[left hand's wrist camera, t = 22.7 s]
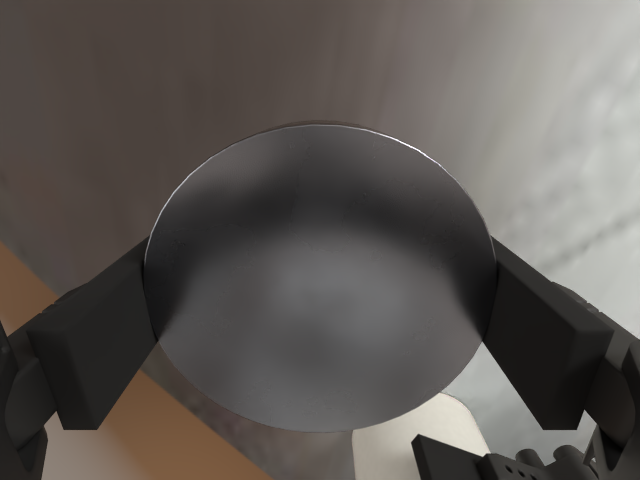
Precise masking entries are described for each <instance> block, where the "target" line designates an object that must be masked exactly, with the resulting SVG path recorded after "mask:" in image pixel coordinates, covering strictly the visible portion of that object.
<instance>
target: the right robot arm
mask: <svg viewBox="0 0 640 480" xmlns="http://www.w3.org/2000/svg"><path fill="white" fill-rule="evenodd" d="M411 445H412V449H413V453H414V456H415V460H416V464H417V468H418V471H419V475H420V479H421V480H599V476H598V471H597V465H596V463H595V462H594V461H592V460H591V462H590V464H589V466H586V465H583V464H582V463H583V457H584V454H583V453H582V452H580V451H579V450H578V449H576V448H575V447H573V446H571V445H564V446H560V447H559V448H557V449H556V450H555V451H554V453H553V456H554V458H555V459H556V461H555V462H553V463H552V464H550V465H547V466H544V464H543V463H542V461H541V460H540V458H539V456H538V455H537V453H536V452H535V451H534V450H532V449H524V450H521V451H519V452H518V453H517V454H516V457H515V458H516V461H515V460H511V459H510V458H507V457H506V458H505V457H504V456H502V455H499V454H492V453H486V454H485V455H484V456H483V457H482V456H479V455H476V454H474V453H471V452H468V451H465V450H463V449H460V448H457V447H454V446H451V445H449V444H446V443H443V442H440V441H437V440H435V439H432V438H429V437H426V436H423V435H421V434H417V436H416V437H415V438H414V439H413V440H412V442H411Z"/></svg>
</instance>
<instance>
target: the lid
mask: <svg viewBox="0 0 640 480" xmlns="http://www.w3.org/2000/svg"><path fill="white" fill-rule="evenodd" d="M143 283H144V295H145V300H146V304H147V309H148V314H149V318H150V322H151V325H152V328H153V330H154V333H155V335H156V337H157V339H158V341H159V343H160V345H161V347H162V349H163V350H164V352H165V353H166V355H167V356H168V358H169V359H170V361H171V362H172V364H173V365H174V366H175V367H176V368H177V370H178V371H179V372H180V373H181V374H182V375H183V376H184V378H185V379H186V380H187V381H188V382H190V383H191V384H192V385H193V386H194V387H195V388H196V389H197V390H199V391H200V392H201V393H202V394H204V395H205V396H206V397H208V398H209V399H211V400H212V401H213V402H215V403H216V404H218V405H220V406H222V407H223V408H225V409H227V410H229V411H231V412H232V413H234V414H237V415H239V416H241V417H244V418H246V419H248V420H251V421H254V422H257V423H260V424H263V425H266V426H270V427H275V428H279V429H284V430H290V431H298V432H309V433H330V432H344V431H350V430H356V429H362V428H366V427H370V426H374V425H377V424H381V423H384V422H387V421H389V420H392V419H394V418H397V417H400V416H402V415H404V414H406V413H408V412H410V411H412V410H414V409H416V408H418V407H419V406H421V405H422V404H424V403H425V402H427V401H428V400H430V399H432V398H433V397H434V396H436V395H437V394H438V393H439V392H441V391H442V390H443V389H444V388H446V387H447V386H448V385H449V384H450V383H451V382H452V381H453V380H454V379H455V378H456V377H457V376H458V375H459V374H460V373H461V372H462V370H463V369H464V368H465V367H466V365H467V364H468V363H469V361H470V360H471V359H472V357H473V356H474V354H475V352H476V351H477V349H478V347H479V346H480V344H481V342H482V340H483V338H484V336H485V333H486V331H487V329H488V326H489V324H490V320H491V315H492V311H493V306H494V302H495V297H496V290H497V266H496V257H495V253H494V248H493V243H492V239H491V236H490V234H489V231H488V229H487V226H486V223H485V221H484V218H483V217H482V215H481V213H480V211H479V210H478V208H477V206H476V205H475V203H474V201H473V199H472V198H471V197H470V196H469V194H468V193H467V192H466V191H465V189H464V188H463V187H462V186H461V184H460V183H459V182H458V181H457V180H456V179H455V178H454V177H453V176H452V175H451V174H450V173H449V172H448V171H447V170H445V169H444V168H443V167H442V166H441V165H440V164H439V163H437V162H436V161H434V160H433V159H431V158H430V157H429V156H427V155H426V154H424V153H423V152H421V151H420V150H418V149H416V148H414V147H412V146H410V145H408V144H406V143H404V142H402V141H400V140H398V139H395V138H393V137H391V136H389V135H387V134H384V133H382V132H380V131H377V130H374V129H371V128H367V127H364V126H361V125H358V124H352V123H346V122H340V121H322V120H311V121H302V122H293V123H288V124H284V125H280V126H276V127H272V128H269V129H266V130H264V131H261V132H259V133H257V134H254V135H252V136H249V137H247V138H245V139H242V140H240V141H238V142H236V143H233V144H231V145H230V146H228V147H226V148H225V149H223V150H221V151H220V152H218V153H216V154H215V155H213V156H211V157H210V158H208V159H207V160H206V161H205V162H203V163H202V164H201V165H200V166H198V167H197V168H196V169H195V170H194V171H192V172H191V173H190V174H189V175H188V176H187V177H186V178H185V179H184V181H183V182H182V183H181V184H180V185H179V186H178V187H177V188H176V189H175V190H174V192H173V193H172V195H171V196H170V198H169V199H168V201H167V202H166V204H165V205H164V207H163V208H162V210H161V211H160V214H159V216H158V218H157V220H156V222H155V225H154V227H153V229H152V231H151V235H150V238H149V242H148V245H147V249H146V253H145V262H144V271H143Z"/></svg>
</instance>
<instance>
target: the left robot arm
mask: <svg viewBox="0 0 640 480" xmlns="http://www.w3.org/2000/svg"><path fill="white" fill-rule="evenodd" d="M490 236H491V235H490ZM149 238H150V236H148V237H147V238H146V239H144V240H143V241H142V242H140V243H139V244H138V245H137V246H135V247H134V248H133V249H131V250H130V251H129V252H127V253H126V254H125V255H123V256H122V257H121V258H120V259H118V260H117V261H116V262H114V263H113V264H112V265H110V266H109V267H108V268H106V269H105V270H104V271H103V272H101V273H100V274H99V275H97V276H96V277H95V278H93V279H92V280H91V281H90V282H88V283H86V284H84V285H82V286H80V287H78V288H75V289H73V290H71V291H69V292H67V293H66V294H65V295H63V296H62V297H61V298H59V299H58V300H57V301H55V302H54V304H51V305H50V306H48V307H47V308H46V309H44V310H43V311H42V313H39V314H38V315H36V316H35V317H34V318H32V319H31V320H30V321H28V322H27V323H26V324H24V325H23V326H21V327H20V328H19V329H17V330H16V331H15V332H13V333H12V334H11V335H9V336H8V337H7V336H6V333H5V331H4V329H3V326H2V324H1V321H0V480H41V478H42V472H43V466H44V460H45V454H46V449H47V443H48V438H47V433H46V430H45V428H44V424H45V423H46V422H47V421H48V420H49V419H50V417H51V416H52V415H53V414H54V413H55V412H56V411H57V414H58V416H59V419H60V421H61V424H62V427H63V429H64V430H97V429H98V428H99V426H100V425H101V423H102V422H103V420H104V419H105V417H106V416H107V415H108V413H109V412H110V410H111V409H112V407H113V406H114V404H115V403H116V401H117V400H118V399H119V397H120V396H121V394H122V393H123V391H124V390H125V388H126V387H127V385H128V384H129V383H130V381H131V380H132V378H133V377H134V375H135V374H136V372H137V371H138V369H139V368H140V367H141V365H142V364H143V362H144V361H145V359H146V358H147V356H148V355H149V353H150V352H151V351H152V349H153V348H154V346H155V345H156V343H157V342H158V339H157V337H156V335H155V333H154V330H153V328H152V325H151V322H150V318H149V314H148V309H147V304H146V300H145V295H144V283H143V271H144V262H145V253H146V249H147V245H148V242H149ZM491 239H492V243H493V248H494V253H495V257H496V266H497V290H496V297H495V302H494V306H493V311H492V315H491V320H490V324H489V326H488V329H487V331H486V333H485V336H484V338H483V340H482V341H483V343H484V344H485V346H486V347H487V349H488V350H489V352H490V353H491V355H492V356H493V357H494V359H495V360H496V362H497V363H498V365H499V366H500V368H501V369H502V371H503V372H504V373H505V375H506V376H507V378H508V379H509V381H510V382H511V384H512V385H513V387H514V388H515V389H516V391H517V392H518V394H519V395H520V397H521V398H522V400H523V401H524V403H525V404H526V406H527V407H528V408H529V410H530V411H531V413H532V414H533V416H534V417H535V419H536V420H537V422H538V423H539V424H540V426H541V427H542V429H543V430H577V427H578V425H579V422H580V420H581V417H582V414H583V412H584V409H585V411H586V412H587V413H588V414H589V415H590V416H591V417H592V419H593V420H594V421H595V422H596V423H597V425H596V428H595V430H594V432H593V435H592V437H591V440H590V442H589V445H588V447H587V449H586V452H585V454H584V457H583V463H582V464H583V465H586V466H589V464H590V462H591V459H592V458H594V457H595V459H596V465H597V471H598V476H599V480H640V340H639V339H638V338H636V337H635V336H634V335H632V334H631V333H629V332H628V331H627V330H625V329H624V328H623V327H621V326H620V325H619V324H617V323H616V322H615V321H613V320H612V319H610V318H609V317H608V316H606V315H605V314H604V313H602V312H599V310H598V309H597V308H595V307H594V306H593V305H591V304H590V303H587V301H586V300H585V299H583V298H582V297H580V296H579V295H578V294H576V293H575V292H574V291H572V290H570V289H568V288H566V287H564V286H561V285H559V284H557V283H555V282H551V281H549V280H548V279H547V278H546V277H544V276H543V275H542V274H540V273H539V272H538V271H536V270H535V269H534V268H532V267H531V266H530V265H529V264H527V263H526V262H525V261H523V260H522V259H521V258H519V257H518V256H517V255H515V254H514V253H513V252H512V251H510V250H509V249H508V248H506V247H505V246H504V245H502V244H501V243H500V242H498V241H497V240H496V239H495V238H493V237H492V236H491Z"/></svg>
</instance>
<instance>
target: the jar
mask: <svg viewBox="0 0 640 480" xmlns="http://www.w3.org/2000/svg"><path fill="white" fill-rule="evenodd" d="M417 434H421V435H423V436H426V437H429V438H432V439H435V440H437V441H440V442H443V443H446V444H449V445H451V446H454V447H457V448H460V449H463V450H465V451H468V452H471V453H474V454H476V455H479V456H482V457H483V456H484V455H485V454H486V453H490V451H489V449H488V447H487V444H486V442H485V440H484V438H483V436H482V434H481V432H480V430H479V428H478V426H477V424H476V422H475V420H474V418H473V416H472V414H471V413H470V411H469V410H468V409H467V407H466V406H464V405H463V404H462V403H461V402H460V401H458V400H456V399H455V398H453V397H451V396H448V395H446V394H443V393H438V394H437V395H436V396H434V397H433V398H432V399H430V400H428V401H427V402H425V403H424V404H422V405H421V406H419V407H418V408H416V409H414V410H412V411H410V412H408V413H406V414H404V415H402V416H400V417H397V418H394V419H392V420H389V421H387V422H384V423H381V424H377V425H374V426H370V427H366V428H362V429H356V430H353V434H352V446H353V456H354V467H355V477H356V480H421V479H420V475H419V471H418V468H417V464H416V460H415V456H414V453H413V449H412V445H411V442H412V440H413V439H414V438H415V437H416V436H417Z"/></svg>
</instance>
